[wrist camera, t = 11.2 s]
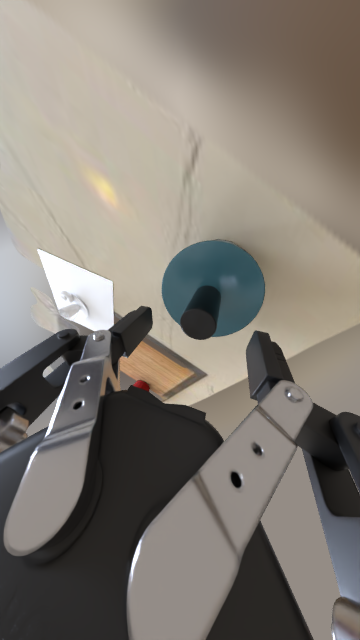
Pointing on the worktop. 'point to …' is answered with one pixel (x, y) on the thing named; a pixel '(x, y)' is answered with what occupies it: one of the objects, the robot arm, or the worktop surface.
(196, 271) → the lid
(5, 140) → the worktop surface
